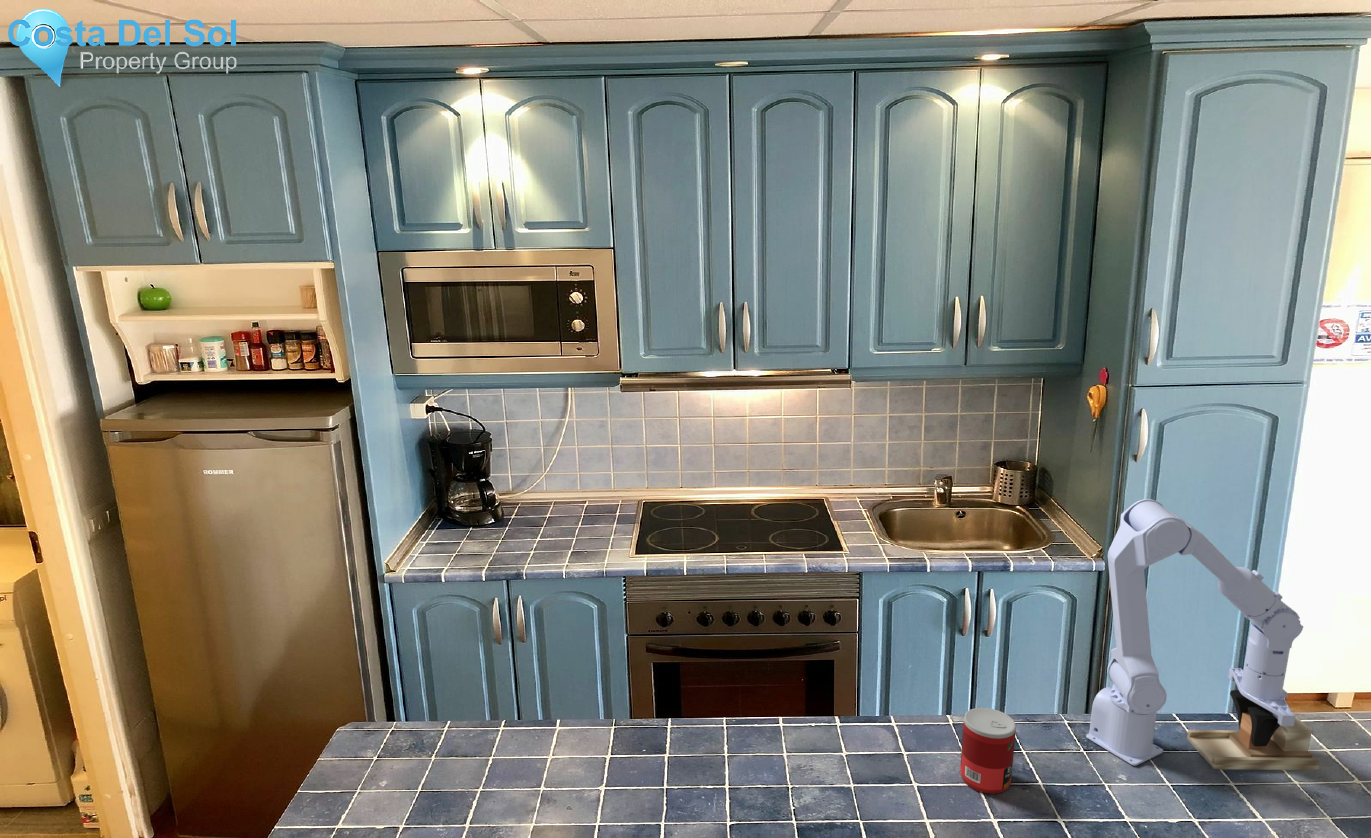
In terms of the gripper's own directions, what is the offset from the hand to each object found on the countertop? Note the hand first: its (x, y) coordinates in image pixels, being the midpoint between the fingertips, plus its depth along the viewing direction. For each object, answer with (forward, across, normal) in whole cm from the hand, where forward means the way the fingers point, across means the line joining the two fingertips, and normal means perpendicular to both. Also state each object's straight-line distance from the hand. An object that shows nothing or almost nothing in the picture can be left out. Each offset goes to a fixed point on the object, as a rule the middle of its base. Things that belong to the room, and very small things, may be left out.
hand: (1253, 739), depth 145 cm
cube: (+1, 0, -6) cm, 6 cm away
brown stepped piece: (+2, 0, -3) cm, 4 cm away
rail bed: (+3, 0, 0) cm, 3 cm away
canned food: (+3, -7, +47) cm, 48 cm away
